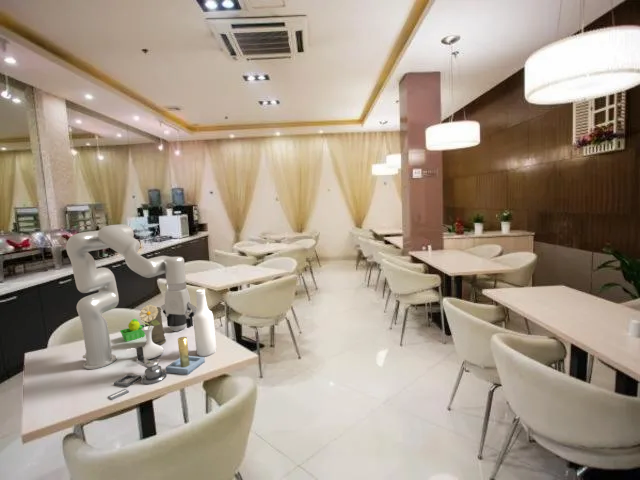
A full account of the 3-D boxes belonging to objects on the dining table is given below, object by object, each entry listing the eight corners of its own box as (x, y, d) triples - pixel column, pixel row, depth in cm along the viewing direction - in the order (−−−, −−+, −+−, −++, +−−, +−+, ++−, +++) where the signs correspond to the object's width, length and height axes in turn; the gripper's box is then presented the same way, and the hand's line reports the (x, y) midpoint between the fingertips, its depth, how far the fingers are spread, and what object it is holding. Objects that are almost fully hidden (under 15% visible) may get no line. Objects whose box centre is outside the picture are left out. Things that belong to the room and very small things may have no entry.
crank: (161, 367, 138) (159, 351, 137) (150, 372, 134) (148, 355, 134) (145, 359, 146) (143, 344, 145) (134, 364, 143) (132, 348, 142)
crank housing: (114, 385, 135) (112, 375, 134) (138, 370, 146) (137, 361, 146) (148, 389, 129) (147, 379, 129) (171, 374, 141) (170, 364, 140)
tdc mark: (125, 389, 131) (124, 388, 131) (128, 392, 129) (128, 390, 129) (107, 397, 126) (107, 396, 126) (111, 400, 124) (111, 398, 124)
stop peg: (178, 366, 145) (175, 339, 144) (184, 362, 149) (181, 336, 147) (186, 367, 144) (182, 340, 143) (191, 363, 147) (188, 336, 146)
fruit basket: (143, 333, 191) (141, 313, 190) (148, 337, 184) (146, 316, 183) (120, 339, 183) (118, 319, 182) (125, 344, 177) (122, 322, 175)
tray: (166, 372, 143) (165, 367, 143) (183, 360, 153) (183, 355, 153) (188, 374, 140) (187, 369, 139) (204, 362, 150) (204, 357, 150)
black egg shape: (164, 332, 189) (161, 306, 187) (175, 326, 199) (172, 300, 197) (181, 333, 187) (178, 306, 185) (191, 326, 197) (188, 300, 196)
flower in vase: (131, 360, 156) (124, 307, 153) (151, 349, 167) (145, 300, 164) (153, 363, 152) (146, 309, 149) (172, 352, 162) (166, 301, 159)
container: (169, 341, 176) (165, 307, 174) (152, 348, 168) (148, 313, 166) (159, 338, 181) (155, 305, 179) (142, 345, 173) (138, 311, 171)
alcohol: (193, 354, 159) (186, 291, 155) (209, 347, 166) (203, 286, 162) (204, 358, 153) (197, 293, 150) (220, 351, 160) (214, 288, 157)
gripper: (153, 288, 142) (157, 327, 144) (188, 289, 136) (191, 330, 138) (166, 283, 149) (169, 321, 151) (200, 285, 143) (203, 324, 145)
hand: (180, 326), depth 144 cm, fingers open, 9 cm apart
